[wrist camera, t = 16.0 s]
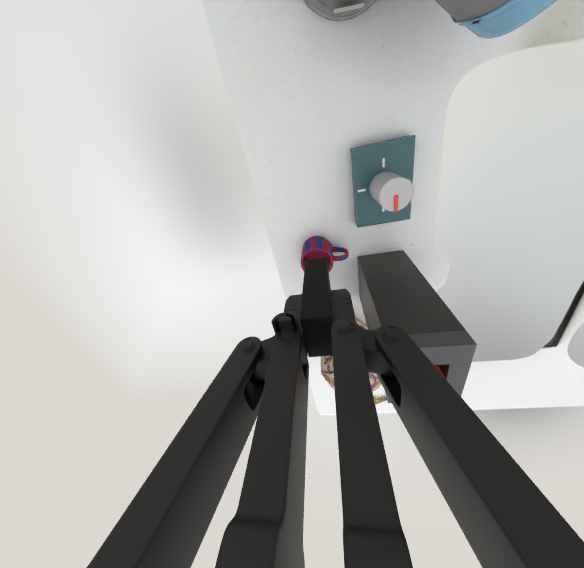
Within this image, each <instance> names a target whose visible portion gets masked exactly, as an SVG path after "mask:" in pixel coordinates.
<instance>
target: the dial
mask: <svg viewBox="0 0 584 568" xmlns="http://www.w3.org/2000/svg"><path fill="white" fill-rule="evenodd" d="M369 190H370V194H371V196H372V197H373V198H374V199H375V200H376V201H377V202H378V203H379V204H380V205H381V206H382V207H383V208H384V209H385V210H387V211H394V212H396V211H398V210H401V209H403V208H404V207H405V206H407V205H408V203H409V202H410V201H411V199H412V196H413V185H412V183H411V182H410V181H409V180H408V179H406V178H404V177H401V176H399V175H397V174H394V173H392V172H389V171H384V172H381V173H379V174H377V175H376V176H375V177H374V178H373V179H372V181H371V183H370V187H369Z"/></svg>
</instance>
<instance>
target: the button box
mask: <svg viewBox="0 0 584 568" xmlns="http://www.w3.org/2000/svg"><path fill="white" fill-rule="evenodd" d="M357 258H358V275H359V292H360V300H361V304H362V308H363V312H364V315H365V319H366V323H367V326H368V330H373V331H376V330H377V329H378V328H379V327H381V326H383V325H395V326H398V327H400V328H402V329H403V330H404V331H405V332H406V333H407V334H408V335H409V337H410V338H411V339H412V340H413V341H414V342H415V344H416V345H417V346H418V347H419V348H420V350H421V351H422V352H423V353H424V354H425V355H426V357H427V358H428V359H429V360H430V361H431V362H432V364H433V365H438V366H439V368H440V370H441V371H442V373H443V375H444V377H445V379H446V380H447V381H448V383H449V384H450V385H451V386H452V387H453V388H454V390H455V391H456V392H457V393H458V394H459V396H460V397H461V395H462V391H463V388H464V385H465V382H466V379H467V375H468V372H469V369H470V366H471V362H472V359H473V355H474V352H475V349H476V345H477V344H476V343H475V342H474V340H473V339H472V338H471V336H470V335H469V334H468V333H467V331H466V330H465V329H464V327H463V326H462V325H461V324H460V322H459V321H458V320H457V319H456V317H455V316H454V315H453V313H452V312H451V311H450V309H449V308H448V307H447V306H446V304H445V303H444V302H443V301H442V299H441V298H440V297H439V295H438V294H437V293H436V292H435V290H434V289H433V288H432V287H431V285H430V284H429V283H428V281H427V280H426V279H425V278H424V276H423V275H422V274H421V273H420V271H419V270H418V269H417V267H416V266H415V265H414V264H413V262H412V261H411V260H410V258H409V257H408V256H407V255H406V253H405V252H404V251H403V250H402V251H395V252H387V253H380V254H373V255H366V256H359V257H357ZM385 393H386V391H385ZM386 397H387V400H388V403H392V402H391V400H390V398H389V396H388V395H387V393H386Z"/></svg>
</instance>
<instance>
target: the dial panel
mask: <svg viewBox="0 0 584 568" xmlns="http://www.w3.org/2000/svg"><path fill="white" fill-rule="evenodd" d="M414 149H415V135H410V136H405V137H401V138H396V139H392V140H387V141H383V142H378V143H374V144H370V145H365V146H361V147H356V148H352V149H351V157H352V174H353V191H354V208H355V223H356V225H357V227H363V226H369V225H375V224H382V223H388V222H394V221H400V220H406V219H410V211H411V201H410V202H409V203H408V205H407V206H405V207H404V208H403V209H401V210H398V211H396V212H394V211H387V210H385V209H384V208H383V207H382V206H381V205H380V204H379V203H378V202H377V201H376V200H375V199H374V198H373V197H372V196H371V194H370V190H369V187H370V183H371V181H372V179H373V178H374V177H375V176H376V175H377V174H379V173H381V172H384V171H389V172H392V173H394V174H397V175H399V176H401V177H404V178H406V179H408V180H409V181H410V182H411V183H412V180H413V165H414Z"/></svg>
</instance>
